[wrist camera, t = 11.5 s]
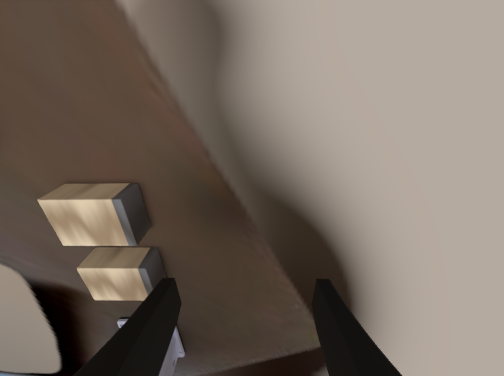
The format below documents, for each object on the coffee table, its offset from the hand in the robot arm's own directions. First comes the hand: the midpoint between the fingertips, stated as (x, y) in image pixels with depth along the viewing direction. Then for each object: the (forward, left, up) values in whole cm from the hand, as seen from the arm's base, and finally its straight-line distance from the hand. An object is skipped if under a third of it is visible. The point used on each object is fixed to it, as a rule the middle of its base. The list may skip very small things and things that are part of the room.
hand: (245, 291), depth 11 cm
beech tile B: (-2, +11, -9) cm, 14 cm away
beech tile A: (-10, +11, -9) cm, 17 cm away
